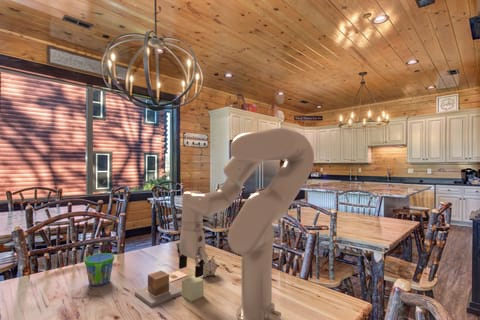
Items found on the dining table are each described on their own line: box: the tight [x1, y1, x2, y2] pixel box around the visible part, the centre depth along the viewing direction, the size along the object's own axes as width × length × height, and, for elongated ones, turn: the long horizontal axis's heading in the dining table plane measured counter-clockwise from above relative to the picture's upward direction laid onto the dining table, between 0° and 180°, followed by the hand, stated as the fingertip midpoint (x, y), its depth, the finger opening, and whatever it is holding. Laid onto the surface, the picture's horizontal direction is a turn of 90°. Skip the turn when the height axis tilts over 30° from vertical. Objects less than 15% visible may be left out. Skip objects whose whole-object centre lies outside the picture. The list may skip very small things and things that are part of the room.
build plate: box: [134, 283, 182, 308], centre depth 100 cm, size 12×12×1 cm
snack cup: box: [84, 252, 115, 287], centre depth 110 cm, size 16×10×10 cm
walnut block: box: [147, 270, 170, 296], centre depth 100 cm, size 6×6×6 cm
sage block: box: [181, 274, 205, 302], centre depth 99 cm, size 6×6×6 cm
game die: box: [202, 255, 220, 279], centre depth 116 cm, size 9×8×10 cm
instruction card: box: [168, 270, 189, 284], centre depth 115 cm, size 7×10×1 cm
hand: (190, 271), depth 99 cm, fingers open, 9 cm apart
